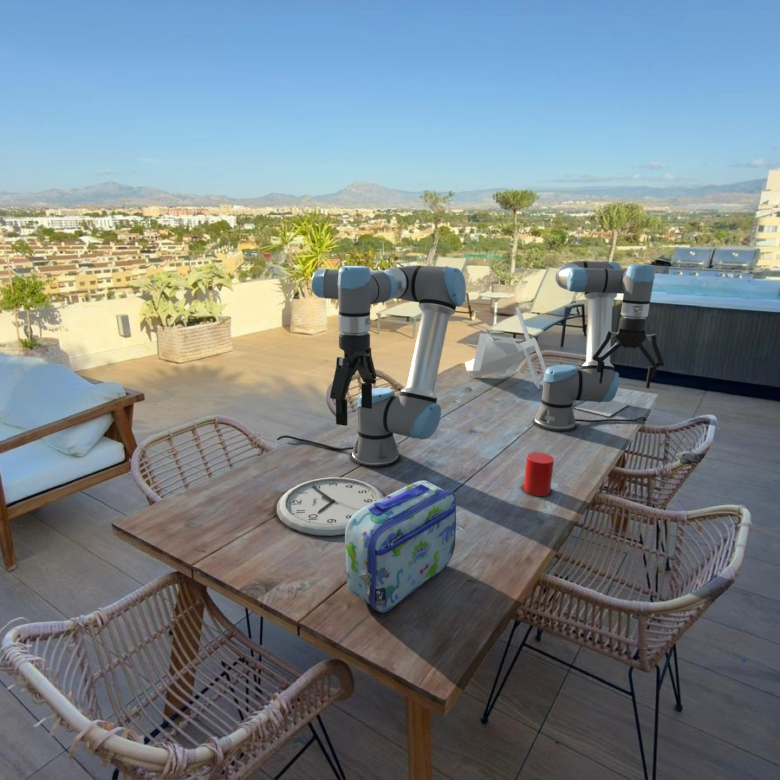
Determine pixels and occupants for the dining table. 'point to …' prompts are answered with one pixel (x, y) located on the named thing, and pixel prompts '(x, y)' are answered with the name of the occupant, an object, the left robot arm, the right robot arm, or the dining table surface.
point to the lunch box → (399, 543)
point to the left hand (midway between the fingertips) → (354, 415)
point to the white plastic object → (503, 354)
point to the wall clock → (325, 504)
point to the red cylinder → (538, 474)
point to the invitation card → (601, 407)
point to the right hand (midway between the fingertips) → (623, 384)
